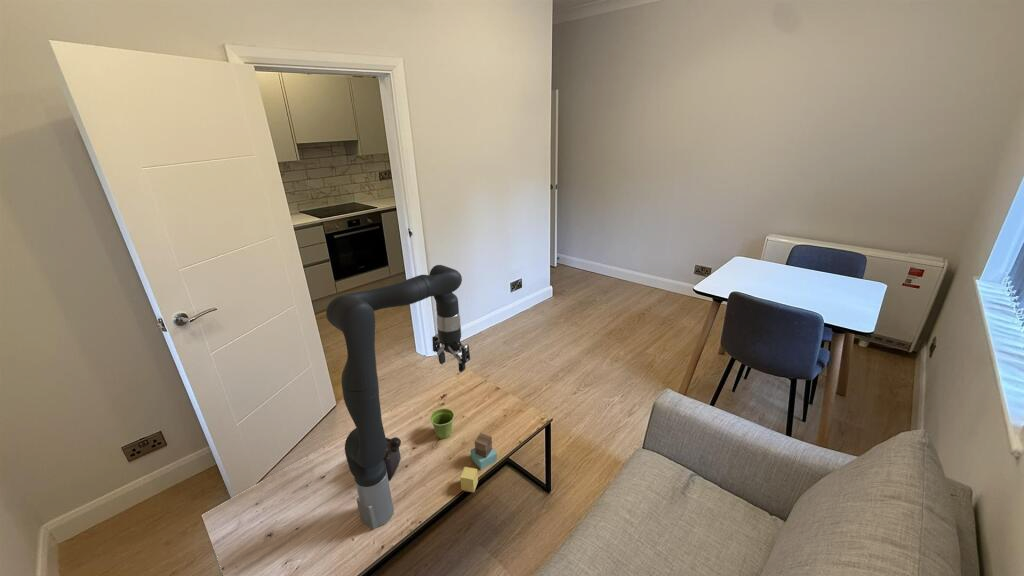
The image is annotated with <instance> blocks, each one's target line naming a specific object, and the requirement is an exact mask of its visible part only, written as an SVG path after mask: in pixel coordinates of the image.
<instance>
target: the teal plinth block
mask: <svg viewBox="0 0 1024 576" xmlns="http://www.w3.org/2000/svg"><path fill="white" fill-rule="evenodd" d="M469 452H470V459H471V460H472V461H473V462H474V463H475V464H476V465H477V467H478V468H479V469H480V471H482V470H483V469H485V468H487V467H488V466H490V465H493V464H494V463H496V462H497V461H498V453H497V452H496V450H494V448H493V447H492V450H491V452H490V453H489V455H488V456H487V458H485V457H483V456H480V455H477V454H475V447H473V448H471V449H470V451H469Z"/></svg>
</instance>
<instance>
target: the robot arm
mask: <svg viewBox="0 0 1024 576" xmlns="http://www.w3.org/2000/svg"><path fill="white" fill-rule="evenodd" d="M462 282H463V277H462V275H461V272H459V271H458V270H456V269H454V268H452V267H449V266H445V265H444V264H443V265H442V264H436V265H434V266H432V268H431V269H430V271H429V275H428V274H420V275H417V276H413V277H411V278H408V279H405V280H402V281H400V282H395V283H393V284H390V285H386V286H382V287H377V288H373V289H369V290H364V291H358V292H352V293H345V294H341V295H339V296H336V297H335V298H333V299H332V300H331V301H330V302H329V304H328V305H327V308H326V311H325V317H326V319H327V320H328V322H329V324H331V326H333V327H335V328H336V329H338V330H339V331H341V332H342V334H343V337H344V340H345V341H344V342H345V345H346V351H347V359H346V361H345V362H346V363H345V365H344V366H343V370H342V373H341V378H340V379H341V381H340V382H341V388H342V389H341V390H342V397H343V402H344V404H345V407H346V409H347V411H348V414H349V415H350V417H351V419H352V421H353V423H354V426H355V428H354V429H352V430H351V431H350V432H349V433H348V435H347V436H346V439H345V443H344V452H345V458H346V461H347V464H348V467H349V471H350V473H351V474H352V476H353V478H354V481H355V482H354V483H355V486H356V490H357V495H358V497H357V498H356V505H357V508H358V513H359V517H360V521H362V522H363V523H364V524H365V525H366V526H368V527H369V528H371V529H372V530H375V529H377V528H379V527H381V526H384V525H385V524H387V522H389V521H390V520H391V518H392V517H393V516H394V515H393V514H394V504H393V499H392V494H391V488H390V487H391V486H390V482H389V481H390V480H388V475H387V469H386V464H385V462H384V460H383V459H384V457H385V454H386V450H387V442H386V438H387V437H386V434H385V429H384V424H383V419H382V412H381V411H382V410H381V409H382V408H381V401H380V390H379V389H380V387H379V376H378V371H377V359H376V347H375V346H376V344H375V342H376V338H375V337H376V314H375V311H378V310H383V309H388V308H397V307H404V306H405V307H406V306H409V305H413V304H416V303H418V302H421V301H424V300H425V299H428V298H431V297H433V298H434V300H435V311H436V328H437V334H435V335H434V336H432V340H431V341H432V351H433V353H434V352H435V353H436V354H437V358H438V361H439V364H441V365H443V364H444V363H446V353H449V354H450V355H452V356H453V357H454V358H455V359H456V360H457V361H458V363H457V364H458V372H459V373H462V372H464V371H465V370H466V363H467V362H469V361H470V360H471V355H470V347H469V344H462V342H461V339H462V328H461V326H462V325H461V315H460V310H459V309H460V308H459V299H458V296H457V295H456V294H454V292H455V291H457V290H458V289H459V288H460V286H461V285H462ZM457 352H458V353H457Z"/></svg>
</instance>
